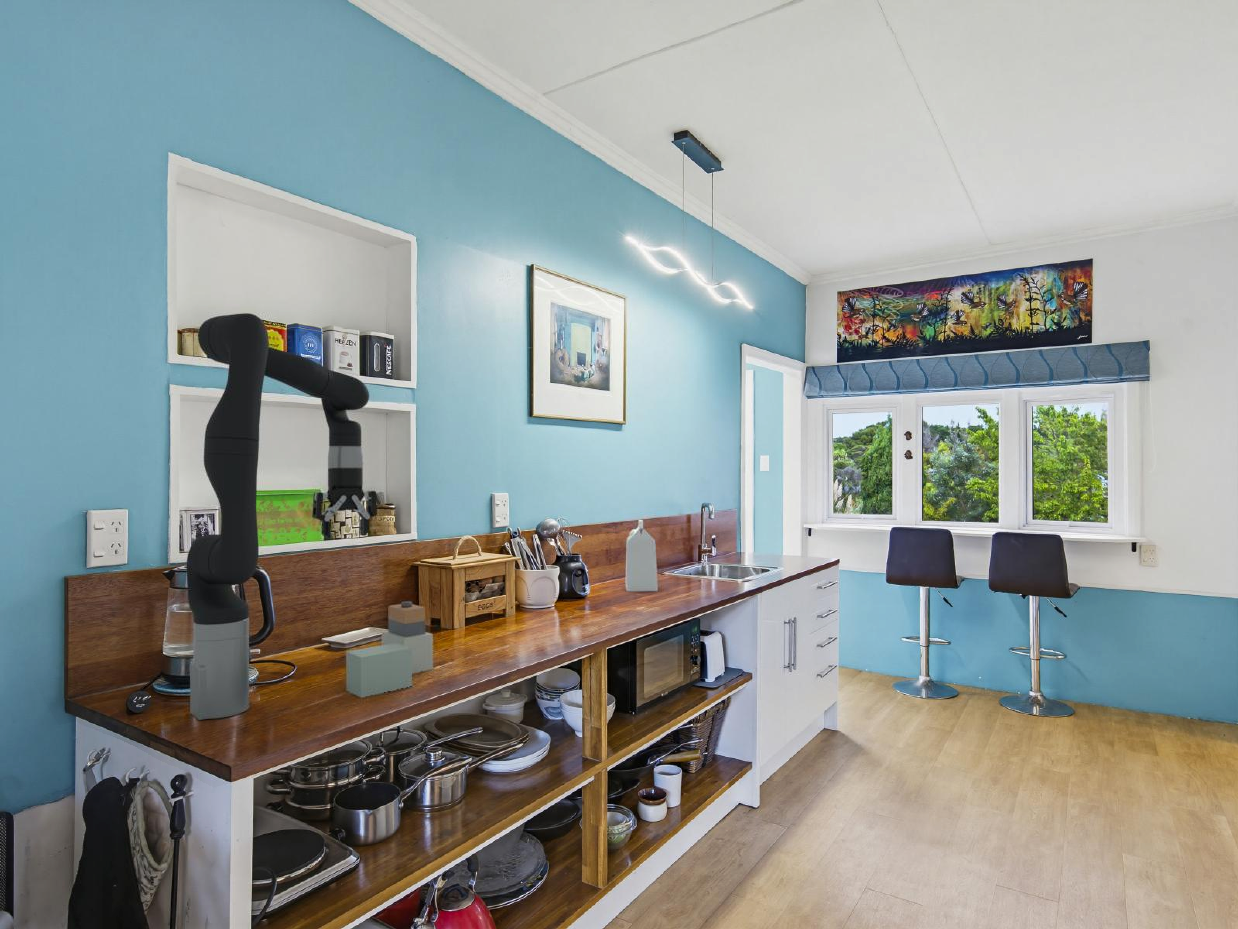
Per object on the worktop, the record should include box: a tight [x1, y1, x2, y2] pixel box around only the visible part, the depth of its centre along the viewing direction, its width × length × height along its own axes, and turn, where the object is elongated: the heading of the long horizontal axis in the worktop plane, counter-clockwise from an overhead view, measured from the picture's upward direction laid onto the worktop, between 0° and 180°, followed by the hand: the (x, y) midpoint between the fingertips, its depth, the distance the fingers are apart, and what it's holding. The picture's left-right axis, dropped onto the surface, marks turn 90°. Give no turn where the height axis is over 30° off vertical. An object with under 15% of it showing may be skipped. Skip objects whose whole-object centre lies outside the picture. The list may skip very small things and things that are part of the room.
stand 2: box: [381, 630, 434, 675], centre depth 170 cm, size 7×11×8 cm, turn 44°
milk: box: [624, 519, 659, 592], centre depth 283 cm, size 12×12×26 cm
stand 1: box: [345, 643, 413, 699], centre depth 154 cm, size 11×7×8 cm, turn 134°
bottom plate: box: [387, 618, 426, 637], centre depth 170 cm, size 8×5×3 cm, turn 44°
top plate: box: [387, 600, 426, 624], centre depth 170 cm, size 8×5×4 cm, turn 43°
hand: (345, 536), depth 171 cm, fingers open, 8 cm apart
